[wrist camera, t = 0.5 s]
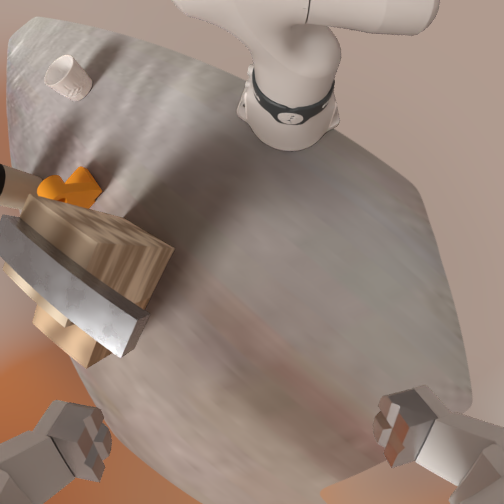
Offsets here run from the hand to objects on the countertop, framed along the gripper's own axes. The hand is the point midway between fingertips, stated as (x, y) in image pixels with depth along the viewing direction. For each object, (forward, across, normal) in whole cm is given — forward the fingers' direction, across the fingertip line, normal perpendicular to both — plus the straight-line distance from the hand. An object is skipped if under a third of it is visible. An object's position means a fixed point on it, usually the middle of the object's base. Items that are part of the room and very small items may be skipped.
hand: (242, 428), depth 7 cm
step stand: (+46, +20, +10) cm, 51 cm away
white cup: (+58, +34, -32) cm, 74 cm away
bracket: (+52, +31, -6) cm, 60 cm away
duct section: (+21, +17, +2) cm, 27 cm away
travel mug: (+54, +45, -8) cm, 70 cm away
